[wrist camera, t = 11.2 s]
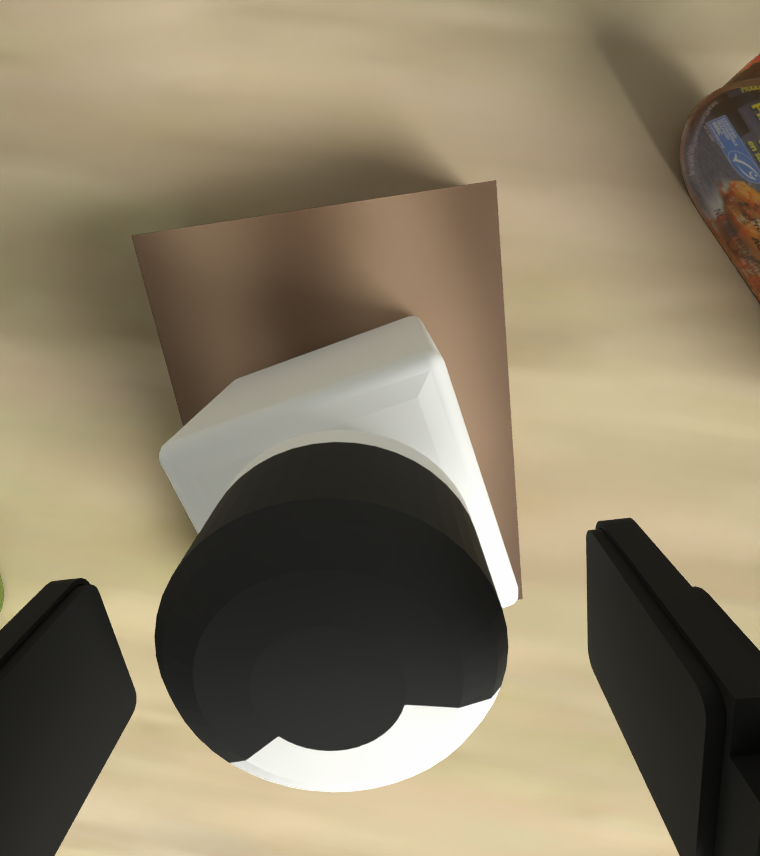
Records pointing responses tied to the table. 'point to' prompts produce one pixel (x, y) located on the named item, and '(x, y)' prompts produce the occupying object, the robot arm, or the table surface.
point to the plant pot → (1, 594)
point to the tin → (728, 168)
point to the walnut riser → (344, 303)
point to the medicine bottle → (335, 568)
